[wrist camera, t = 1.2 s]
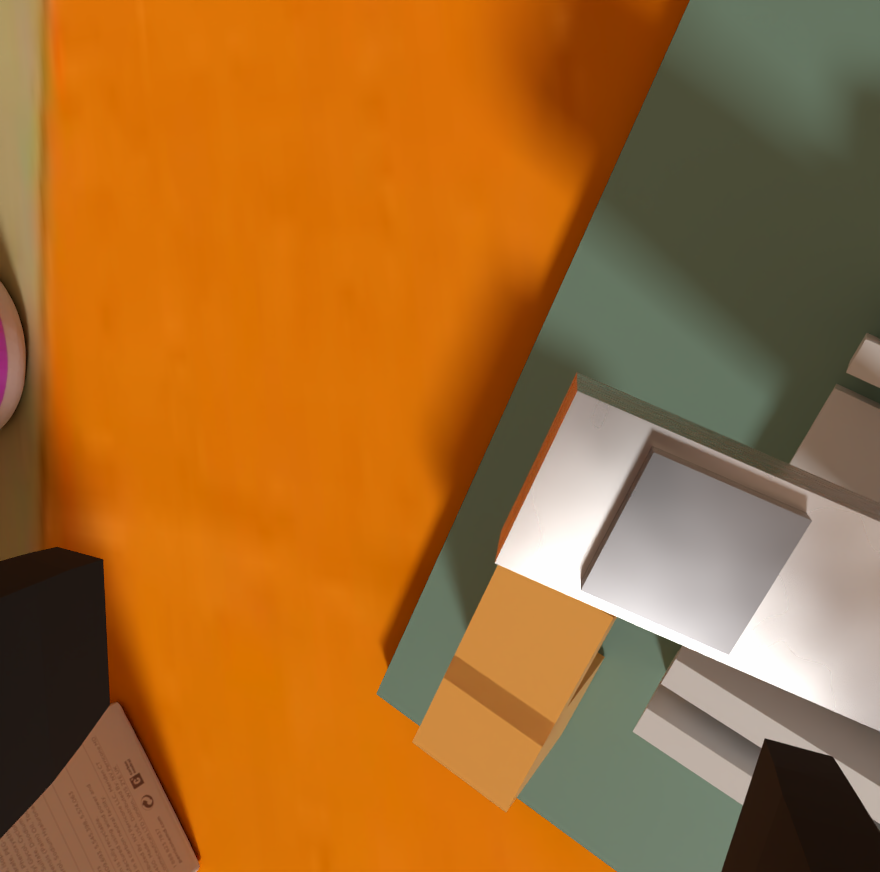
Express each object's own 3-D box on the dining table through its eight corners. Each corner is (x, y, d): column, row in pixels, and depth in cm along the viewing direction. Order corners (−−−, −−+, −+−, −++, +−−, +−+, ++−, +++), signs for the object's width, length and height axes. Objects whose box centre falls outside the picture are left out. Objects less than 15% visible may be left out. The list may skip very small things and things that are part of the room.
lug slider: (479, 678, 21) (412, 742, 18) (562, 510, 20) (505, 550, 16) (561, 734, 20) (505, 812, 17) (655, 565, 19) (613, 618, 16)
